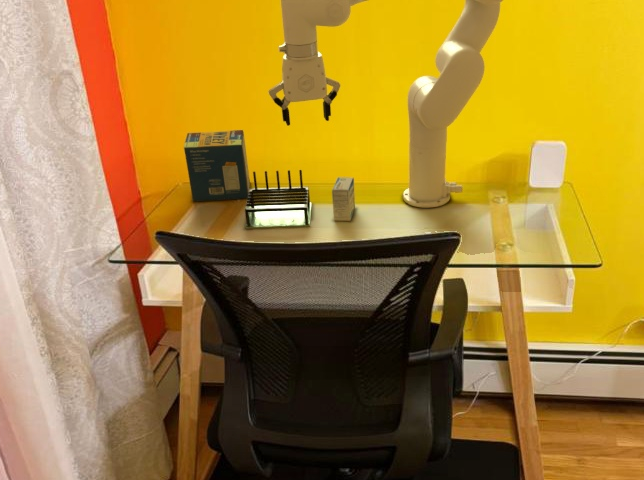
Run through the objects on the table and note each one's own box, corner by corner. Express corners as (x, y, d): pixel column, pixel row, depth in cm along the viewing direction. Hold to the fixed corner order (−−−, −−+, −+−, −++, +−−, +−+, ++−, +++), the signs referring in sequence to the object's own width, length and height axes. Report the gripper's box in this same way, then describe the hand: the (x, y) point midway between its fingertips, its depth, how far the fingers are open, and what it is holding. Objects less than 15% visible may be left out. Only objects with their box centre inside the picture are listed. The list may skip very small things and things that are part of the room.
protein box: (195, 186, 222) (186, 132, 212) (250, 182, 222) (243, 129, 213) (192, 202, 213) (182, 147, 204) (249, 198, 214) (242, 144, 204)
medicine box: (350, 221, 201) (349, 190, 196) (333, 220, 202) (331, 189, 197) (355, 207, 207) (354, 177, 202) (338, 207, 208) (337, 176, 203)
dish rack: (311, 204, 210) (309, 168, 204) (309, 226, 200) (307, 189, 193) (250, 206, 210) (245, 170, 204) (245, 229, 200) (240, 191, 194)
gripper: (266, 57, 178) (274, 131, 188) (341, 49, 181) (344, 122, 191) (262, 48, 184) (270, 120, 194) (334, 41, 187) (338, 112, 197)
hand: (307, 121), depth 193 cm, fingers open, 9 cm apart
